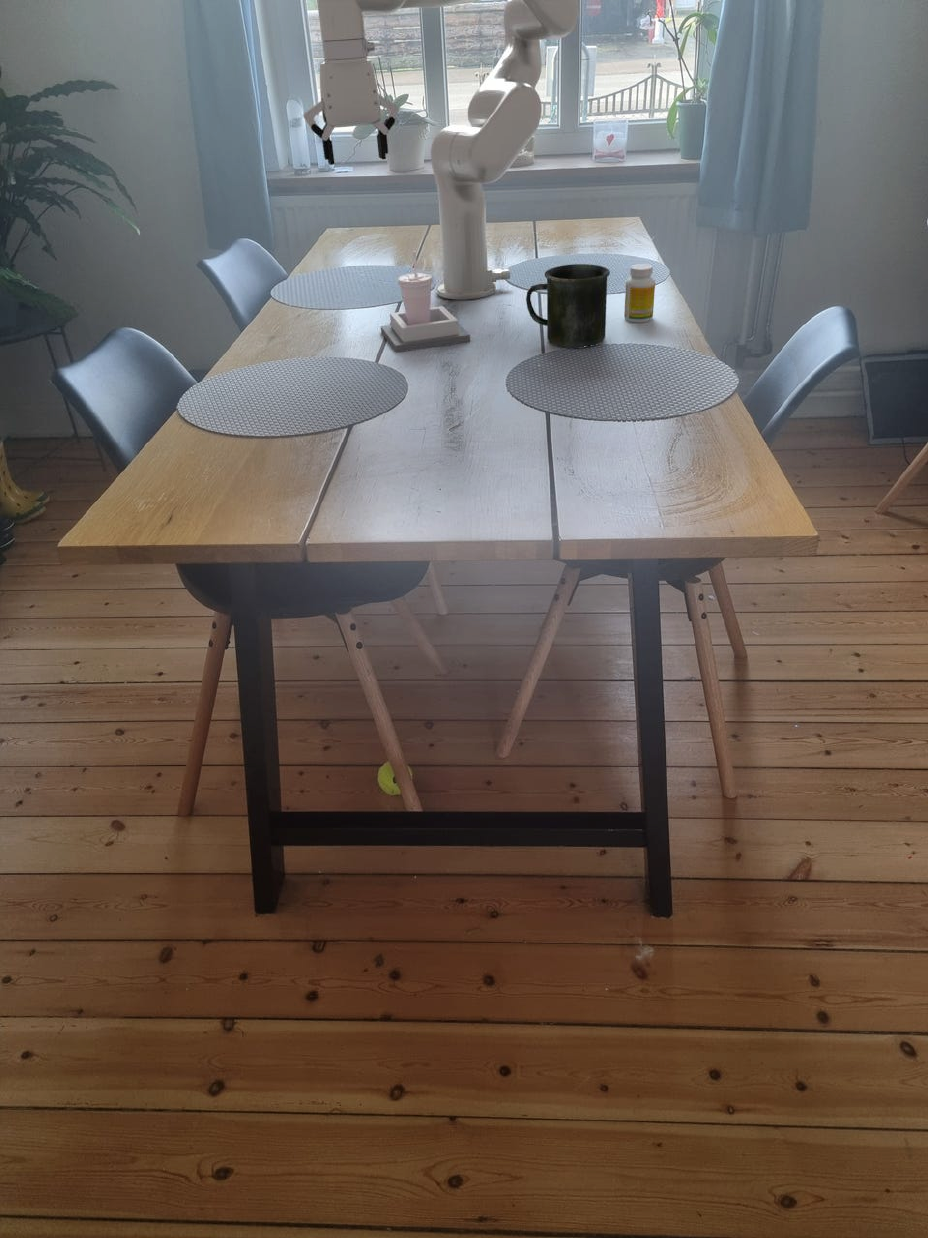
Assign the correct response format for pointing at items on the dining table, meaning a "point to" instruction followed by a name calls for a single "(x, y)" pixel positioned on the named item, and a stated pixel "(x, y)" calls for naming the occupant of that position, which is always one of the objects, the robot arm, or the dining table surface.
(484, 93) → the robot arm
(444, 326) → the dock
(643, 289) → the supplement bottle
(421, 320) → the smoothie
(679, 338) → the dining table surface
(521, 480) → the dining table surface
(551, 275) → the mug
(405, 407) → the dining table surface
